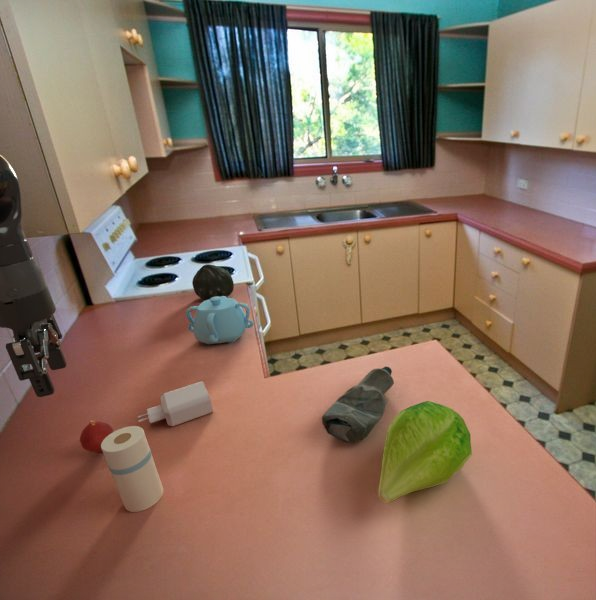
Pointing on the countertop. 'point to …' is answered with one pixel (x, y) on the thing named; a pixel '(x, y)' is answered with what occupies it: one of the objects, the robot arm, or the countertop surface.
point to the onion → (94, 435)
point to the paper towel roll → (132, 468)
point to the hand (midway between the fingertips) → (53, 380)
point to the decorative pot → (219, 320)
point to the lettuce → (422, 449)
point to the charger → (181, 405)
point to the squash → (212, 282)
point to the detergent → (359, 407)
